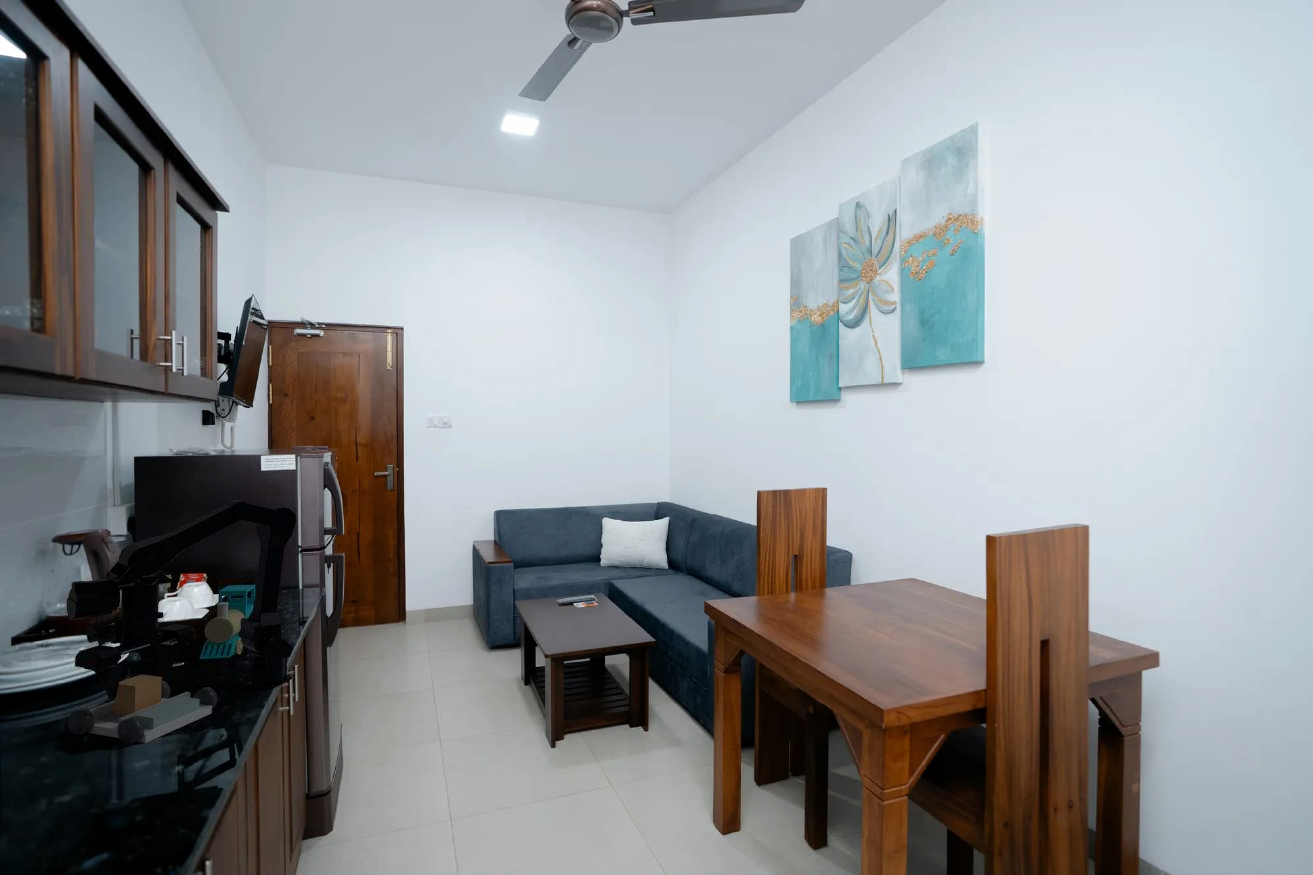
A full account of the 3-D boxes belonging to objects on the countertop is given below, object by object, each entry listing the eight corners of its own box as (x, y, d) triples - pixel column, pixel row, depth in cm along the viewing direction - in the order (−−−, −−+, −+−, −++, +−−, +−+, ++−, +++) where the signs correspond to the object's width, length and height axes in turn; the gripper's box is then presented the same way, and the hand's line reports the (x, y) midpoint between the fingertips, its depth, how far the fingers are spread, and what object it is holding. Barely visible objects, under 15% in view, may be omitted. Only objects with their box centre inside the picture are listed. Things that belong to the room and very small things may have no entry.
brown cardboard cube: (141, 704, 127) (141, 674, 127) (160, 707, 126) (161, 677, 126) (114, 714, 122) (115, 683, 122) (134, 718, 121) (135, 686, 121)
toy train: (195, 663, 155) (197, 601, 155) (223, 641, 171) (225, 585, 171) (232, 661, 157) (234, 600, 157) (256, 640, 173) (258, 584, 173)
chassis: (152, 700, 133) (153, 678, 133) (218, 710, 129) (218, 688, 129) (66, 733, 118) (66, 709, 118) (137, 746, 113) (138, 721, 113)
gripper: (155, 594, 135) (153, 668, 135) (53, 617, 117) (50, 703, 116) (197, 598, 132) (195, 674, 132) (99, 623, 114) (97, 711, 114)
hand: (137, 689), depth 124 cm, fingers open, 9 cm apart
